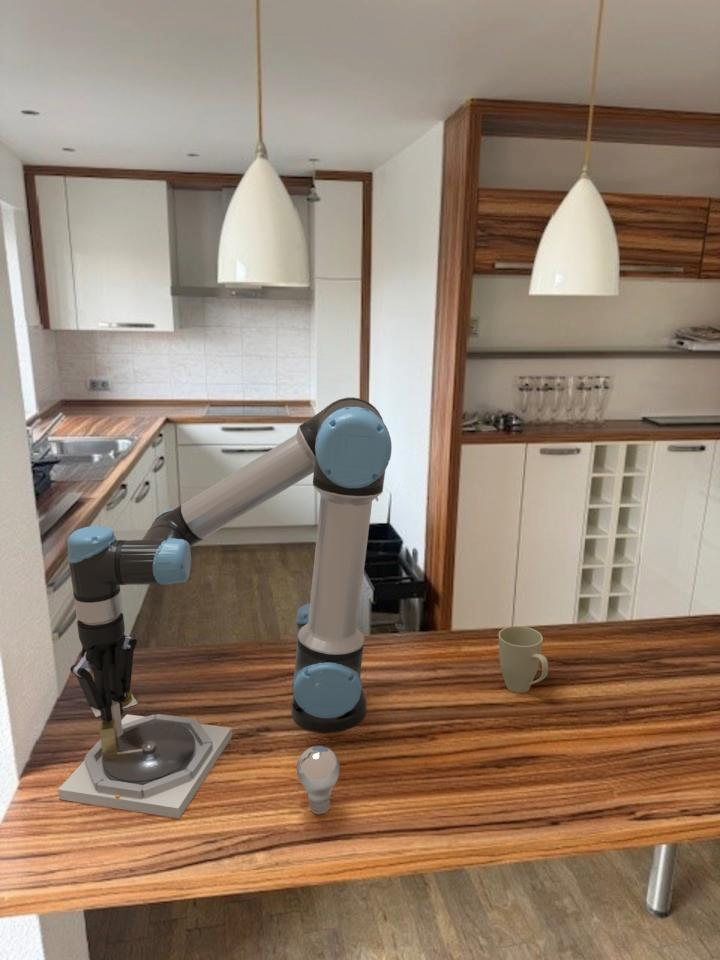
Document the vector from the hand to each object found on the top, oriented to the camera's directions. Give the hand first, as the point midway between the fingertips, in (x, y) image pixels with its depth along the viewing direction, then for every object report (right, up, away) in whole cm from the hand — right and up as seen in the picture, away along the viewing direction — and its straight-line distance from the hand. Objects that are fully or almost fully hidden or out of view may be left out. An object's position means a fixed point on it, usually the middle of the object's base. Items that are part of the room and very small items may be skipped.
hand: (114, 733), depth 129 cm
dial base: (+7, -6, 0) cm, 9 cm away
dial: (+7, -4, -1) cm, 8 cm away
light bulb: (+38, -9, -12) cm, 41 cm away
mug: (+79, +1, +22) cm, 82 cm away
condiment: (-7, -1, +20) cm, 21 cm away
